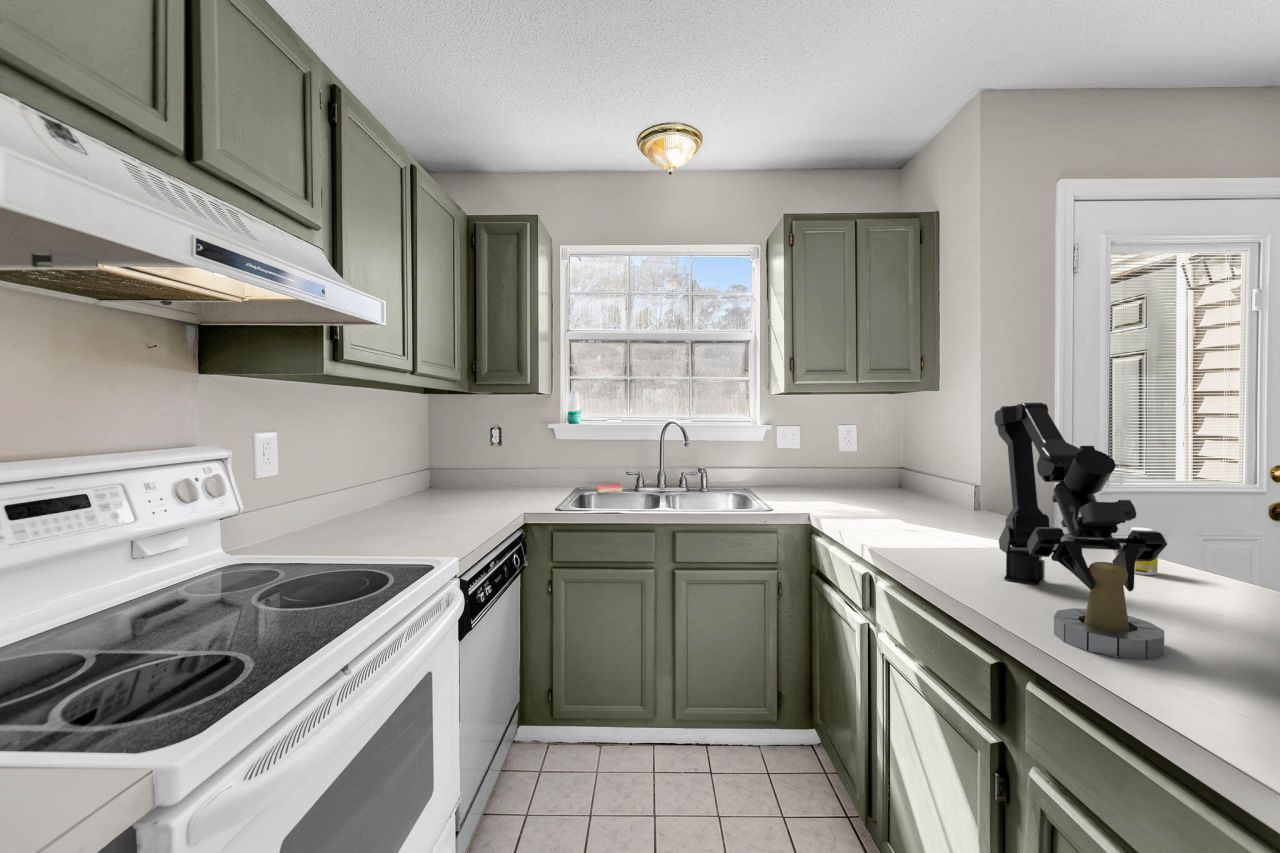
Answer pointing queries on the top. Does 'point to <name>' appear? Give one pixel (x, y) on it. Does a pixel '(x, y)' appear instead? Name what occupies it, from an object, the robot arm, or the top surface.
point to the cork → (1107, 598)
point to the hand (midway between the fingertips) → (1111, 589)
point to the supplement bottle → (1145, 566)
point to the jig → (1110, 636)
